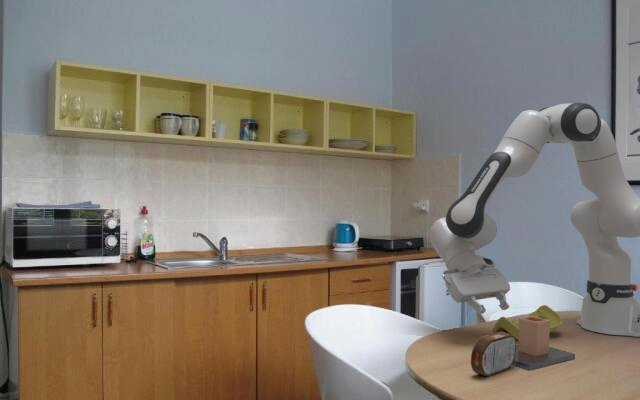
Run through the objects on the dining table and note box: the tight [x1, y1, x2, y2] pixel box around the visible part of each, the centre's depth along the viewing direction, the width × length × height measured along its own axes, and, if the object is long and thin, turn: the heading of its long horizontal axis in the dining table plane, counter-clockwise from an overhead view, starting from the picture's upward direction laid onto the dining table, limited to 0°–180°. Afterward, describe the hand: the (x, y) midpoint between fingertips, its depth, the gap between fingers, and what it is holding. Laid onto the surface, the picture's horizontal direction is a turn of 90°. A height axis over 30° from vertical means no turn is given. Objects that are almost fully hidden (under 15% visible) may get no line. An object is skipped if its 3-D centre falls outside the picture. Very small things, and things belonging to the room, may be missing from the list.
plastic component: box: [491, 304, 563, 341], centre depth 155 cm, size 20×7×10 cm
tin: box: [470, 332, 518, 377], centre depth 121 cm, size 15×3×8 cm, turn 131°
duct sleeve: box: [517, 315, 551, 356], centre depth 133 cm, size 5×5×8 cm
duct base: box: [512, 344, 576, 371], centre depth 133 cm, size 18×12×5 cm, turn 124°
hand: (494, 310), depth 144 cm, fingers open, 8 cm apart
